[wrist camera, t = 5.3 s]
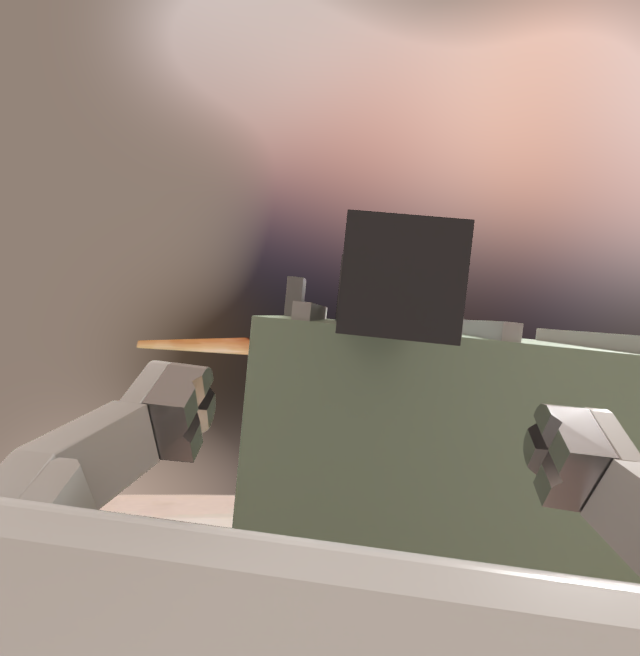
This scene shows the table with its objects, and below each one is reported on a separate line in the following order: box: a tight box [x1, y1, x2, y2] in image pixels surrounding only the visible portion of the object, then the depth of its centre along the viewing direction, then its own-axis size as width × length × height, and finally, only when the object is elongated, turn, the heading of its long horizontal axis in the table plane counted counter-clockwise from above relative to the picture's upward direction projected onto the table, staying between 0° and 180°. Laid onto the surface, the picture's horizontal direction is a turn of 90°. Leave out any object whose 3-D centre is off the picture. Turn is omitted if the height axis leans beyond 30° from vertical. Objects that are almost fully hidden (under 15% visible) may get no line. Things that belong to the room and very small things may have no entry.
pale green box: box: [232, 276, 640, 584], centre depth 30 cm, size 16×24×29 cm, turn 86°
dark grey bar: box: [335, 210, 474, 346], centre depth 24 cm, size 25×5×5 cm, turn 176°
